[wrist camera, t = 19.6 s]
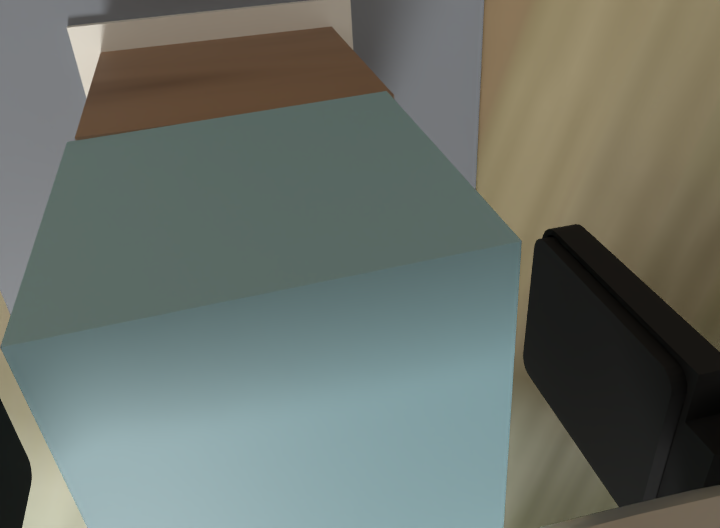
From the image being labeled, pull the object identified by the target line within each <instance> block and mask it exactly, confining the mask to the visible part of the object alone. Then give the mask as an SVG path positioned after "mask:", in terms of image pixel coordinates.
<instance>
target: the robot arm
mask: <svg viewBox="0 0 720 528" xmlns="http://www.w3.org/2000/svg"><path fill="white" fill-rule="evenodd" d="M523 359H524V365H525V368H526V371H527V373H528V375H529V376H530V378H531V379H532V381H533V382H534V384H535V385H536V386H537V388H538V389H539V391H540V392H541V394H542V395H543V397H544V398H545V400H546V401H547V403H548V404H549V405H550V407H551V408H552V410H553V411H554V413H555V414H556V416H557V417H558V419H559V420H560V422H561V423H562V424H563V426H564V427H565V429H566V430H567V432H568V433H569V435H570V436H571V438H572V439H573V440H574V442H575V443H576V445H577V446H578V448H579V449H580V451H581V452H582V454H583V455H584V457H585V458H586V459H587V461H588V462H589V464H590V465H591V467H592V468H593V470H594V471H595V473H596V474H597V476H598V477H599V478H600V480H601V481H602V483H603V484H604V486H605V487H606V489H607V490H608V492H609V493H610V495H611V496H612V497H613V499H614V500H615V502H616V503H617V505H618V506H619V508H615V509H610V510H606V511H602V512H598V513H594V514H590V515H586V516H582V517H578V518H574V519H571V520H567V521H563V522H559V523H555V524H551V525H547V526H543V527H539V528H720V352H719V351H718V350H717V349H716V348H715V347H713V346H712V345H711V344H710V343H709V342H708V341H707V340H706V339H705V338H704V337H703V336H701V335H700V334H699V333H698V332H697V331H696V330H695V329H694V328H693V327H692V326H691V325H689V324H688V323H687V322H686V321H685V320H684V319H683V318H682V317H681V316H680V315H679V314H677V313H676V312H675V311H674V310H673V309H672V308H671V307H670V306H669V305H668V304H667V303H665V302H664V301H663V300H662V299H661V298H660V297H659V296H658V295H657V294H656V293H655V292H653V291H652V290H651V289H650V288H649V287H648V286H647V285H646V284H645V283H644V282H643V281H641V280H640V279H639V278H638V277H637V276H636V275H635V274H634V273H633V272H632V271H631V270H629V269H628V268H627V267H626V266H625V265H624V264H623V263H622V262H621V261H620V260H619V259H617V258H616V257H615V256H614V255H613V254H612V253H611V252H610V251H609V250H608V249H607V248H605V247H604V246H603V245H602V244H601V243H600V242H599V241H598V240H597V239H596V238H595V237H593V236H592V235H591V234H590V233H589V232H588V231H587V230H586V229H585V228H584V227H582V226H581V225H577V224H575V225H569V226H564V227H558V228H553V229H548V230H546V231H545V233H544V235H543V238H542V239H538V240H537V241H536V243H535V247H534V255H533V265H532V275H531V284H530V294H529V304H528V313H527V323H526V333H525V342H524V352H523ZM31 480H32V473H31V466H30V462H29V459H28V457H27V455H26V453H25V450H24V448H23V446H22V444H21V442H20V440H19V438H18V436H17V433H16V431H15V429H14V427H13V425H12V423H11V421H10V418H9V416H8V414H7V412H6V410H5V408H4V406H3V404H2V401H1V399H0V528H22V525H23V520H24V515H25V511H26V506H27V501H28V496H29V491H30V487H31Z"/></svg>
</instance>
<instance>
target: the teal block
mask: <svg viewBox="0 0 720 528" xmlns="http://www.w3.org/2000/svg"><path fill="white" fill-rule="evenodd" d="M521 242H522V241H521V240H520V239H519V238H518V237H517V235H516V234H515V233H514V232H513V231H512V230H511V229H510V228H509V227H508V225H507V224H506V223H505V222H504V221H503V220H502V219H501V218H500V217H499V215H498V214H497V213H496V212H495V211H494V210H493V209H492V208H491V207H490V205H489V204H488V203H487V202H486V201H485V200H484V199H483V198H482V196H481V195H480V194H479V193H478V192H477V191H476V190H475V189H474V188H473V186H472V185H471V184H470V183H469V182H468V181H467V180H466V179H465V178H464V176H463V175H462V174H461V173H460V172H459V171H458V170H457V169H456V168H455V166H454V165H453V164H452V163H451V162H450V161H449V160H448V159H447V158H446V156H445V155H444V154H443V153H442V152H441V151H440V150H439V149H438V147H437V146H436V145H435V144H434V143H433V142H432V141H431V140H430V139H429V137H428V136H427V135H426V134H425V133H424V132H423V131H422V130H421V129H420V127H419V126H418V125H417V124H416V123H415V122H414V121H413V120H412V119H411V117H410V116H409V115H408V114H407V113H406V112H405V111H404V110H403V109H402V107H401V106H400V105H399V104H398V103H397V102H396V101H395V100H394V98H393V97H392V96H391V95H390V94H389V93H388V92H387V91H383V92H377V93H370V94H364V95H358V96H352V97H345V98H339V99H333V100H327V101H320V102H314V103H308V104H302V105H295V106H289V107H283V108H277V109H270V110H264V111H258V112H252V113H245V114H239V115H233V116H226V117H220V118H214V119H208V120H201V121H195V122H189V123H183V124H176V125H170V126H164V127H158V128H151V129H145V130H139V131H133V132H126V133H120V134H114V135H108V136H101V137H95V138H89V139H83V140H76V141H70V142H67V144H66V147H65V150H64V153H63V156H62V159H61V162H60V165H59V168H58V171H57V175H56V178H55V181H54V184H53V187H52V190H51V193H50V196H49V199H48V202H47V205H46V208H45V211H44V215H43V218H42V221H41V224H40V227H39V230H38V233H37V236H36V239H35V242H34V245H33V248H32V251H31V255H30V258H29V261H28V264H27V267H26V270H25V273H24V276H23V279H22V282H21V285H20V288H19V292H18V295H17V298H16V301H15V304H14V307H13V310H12V313H11V316H10V319H9V322H8V325H7V328H6V332H5V335H4V338H3V341H2V344H1V347H0V348H1V350H2V352H3V354H4V356H5V358H6V360H7V362H8V364H9V366H10V368H11V370H12V373H13V375H14V377H15V379H16V381H17V383H18V385H19V387H20V389H21V391H22V393H23V395H24V397H25V399H26V402H27V404H28V406H29V408H30V410H31V412H32V414H33V416H34V418H35V420H36V422H37V424H38V426H39V428H40V431H41V433H42V435H43V437H44V439H45V441H46V443H47V445H48V447H49V449H50V451H51V453H52V455H53V457H54V460H55V462H56V464H57V466H58V468H59V470H60V472H61V474H62V476H63V478H64V480H65V482H66V484H67V486H68V489H69V491H70V493H71V495H72V497H73V499H74V501H75V503H76V505H77V507H78V509H79V511H80V513H81V515H82V518H83V520H84V522H85V524H86V526H87V528H504V513H505V497H506V481H507V465H508V449H509V433H510V417H511V401H512V386H513V370H514V354H515V338H516V322H517V306H518V290H519V274H520V258H521Z"/></svg>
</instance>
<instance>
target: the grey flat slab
mask: <svg viewBox="0 0 720 528" xmlns="http://www.w3.org/2000/svg"><path fill="white" fill-rule="evenodd" d="M483 15H484V0H0V291H1V293H2V296H3V298H4V300H5V303H6V305H7V308H8V310H9V312H10V315H11V313H12V310H13V307H14V304H15V301H16V298H17V295H18V292H19V288H20V285H21V282H22V279H23V276H24V273H25V270H26V267H27V264H28V261H29V258H30V255H31V251H32V248H33V245H34V242H35V239H36V236H37V233H38V230H39V227H40V224H41V221H42V218H43V215H44V211H45V208H46V205H47V202H48V199H49V196H50V193H51V190H52V187H53V184H54V181H55V178H56V175H57V171H58V168H59V165H60V162H61V159H62V156H63V153H64V150H65V147H66V144H67V142H70V141H76V140H75V135H76V132H77V128H78V125H79V122H80V119H81V115H82V112H83V109H84V105H85V102H86V99H87V95H88V92H89V89H90V86H91V82H92V79H93V76H94V72H95V69H96V66H97V63H98V59H99V56H100V53H101V52H108V51H117V50H126V49H135V48H144V47H153V46H162V45H170V44H179V43H188V42H197V41H206V40H215V39H224V38H233V37H242V36H251V35H260V34H269V33H277V32H286V31H295V30H304V29H313V28H322V27H331V26H332V28H333V29H334V30H335V31H336V32H337V33H338V34H339V35H340V36H341V37H342V38H343V40H344V41H345V42H346V43H347V44H348V45H349V46H350V47H351V48H352V49H353V51H354V52H355V53H356V54H357V55H358V56H359V57H360V58H361V59H362V60H363V62H364V63H365V64H366V65H367V66H368V67H369V68H370V69H371V70H372V71H373V72H374V74H375V75H376V76H377V77H378V78H379V79H380V80H381V81H382V82H383V83H384V85H385V86H386V87H387V88H388V89H389V90H390V91H391V92H392V93H393V94H394V100H395V101H396V102H397V103H398V104H399V105H400V106H401V107H402V109H403V110H404V111H405V112H406V113H407V114H408V115H409V116H410V117H411V119H412V120H413V121H414V122H415V123H416V124H417V125H418V126H419V127H420V129H421V130H422V131H423V132H424V133H425V134H426V135H427V136H428V137H429V139H430V140H431V141H432V142H433V143H434V144H435V145H436V146H437V147H438V149H439V150H440V151H441V152H442V153H443V154H444V155H445V156H446V158H447V159H448V160H449V161H450V162H451V163H452V164H453V165H454V166H455V168H456V169H457V170H458V171H459V172H460V173H461V174H462V175H463V176H464V178H465V179H466V180H467V181H468V182H469V183H470V184H471V185H472V186H473V188H474V189H475V190H476V169H477V147H478V125H479V103H480V81H481V59H482V37H483Z"/></svg>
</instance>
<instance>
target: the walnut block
mask: <svg viewBox="0 0 720 528" xmlns="http://www.w3.org/2000/svg"><path fill="white" fill-rule="evenodd" d="M383 91H387V92H388V93H389V94H390V95H391V96H392V97H393V98H394V94H393V93H392V92H391V91H390V90H389V89H388V88H387V87H386V86H385V85H384V83H383V82H382V81H381V80H380V79H379V78H378V77H377V76H376V75H375V74H374V72H373V71H372V70H371V69H370V68H369V67H368V66H367V65H366V64H365V63H364V62H363V60H362V59H361V58H360V57H359V56H358V55H357V54H356V53H355V52H354V51H353V49H352V48H351V47H350V46H349V45H348V44H347V43H346V42H345V41H344V40H343V38H342V37H341V36H340V35H339V34H338V33H337V32H336V31H335V30H334V29H333V28H332V26H331V27H322V28H313V29H304V30H295V31H286V32H277V33H269V34H260V35H251V36H242V37H233V38H224V39H215V40H206V41H197V42H188V43H179V44H170V45H162V46H153V47H144V48H135V49H126V50H117V51H108V52H101V53H100V56H99V59H98V63H97V66H96V69H95V72H94V76H93V79H92V82H91V86H90V89H89V92H88V95H87V99H86V102H85V105H84V109H83V112H82V115H81V119H80V122H79V125H78V128H77V132H76V135H75V140H83V139H89V138H95V137H101V136H108V135H114V134H120V133H126V132H133V131H139V130H145V129H151V128H158V127H164V126H170V125H176V124H183V123H189V122H195V121H201V120H208V119H214V118H220V117H226V116H233V115H239V114H245V113H252V112H258V111H264V110H270V109H277V108H283V107H289V106H295V105H302V104H308V103H314V102H320V101H327V100H333V99H339V98H345V97H352V96H358V95H364V94H370V93H377V92H383Z"/></svg>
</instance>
